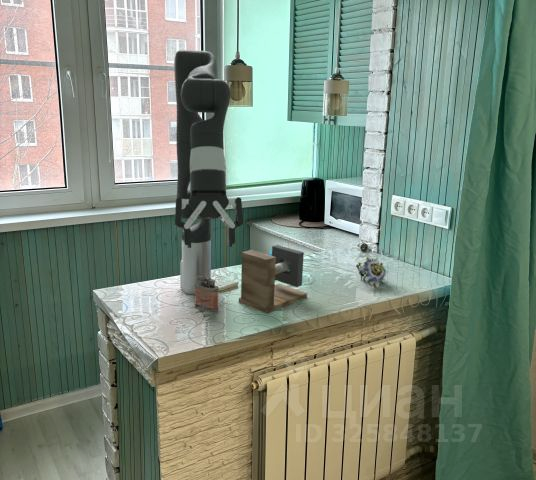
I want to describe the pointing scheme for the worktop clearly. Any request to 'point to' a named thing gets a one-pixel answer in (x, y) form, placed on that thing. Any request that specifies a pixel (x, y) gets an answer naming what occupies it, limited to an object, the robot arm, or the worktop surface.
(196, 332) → the worktop surface
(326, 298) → the worktop surface
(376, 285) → the passion flower
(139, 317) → the worktop surface
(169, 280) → the worktop surface
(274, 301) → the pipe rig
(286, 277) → the panel
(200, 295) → the lighter
